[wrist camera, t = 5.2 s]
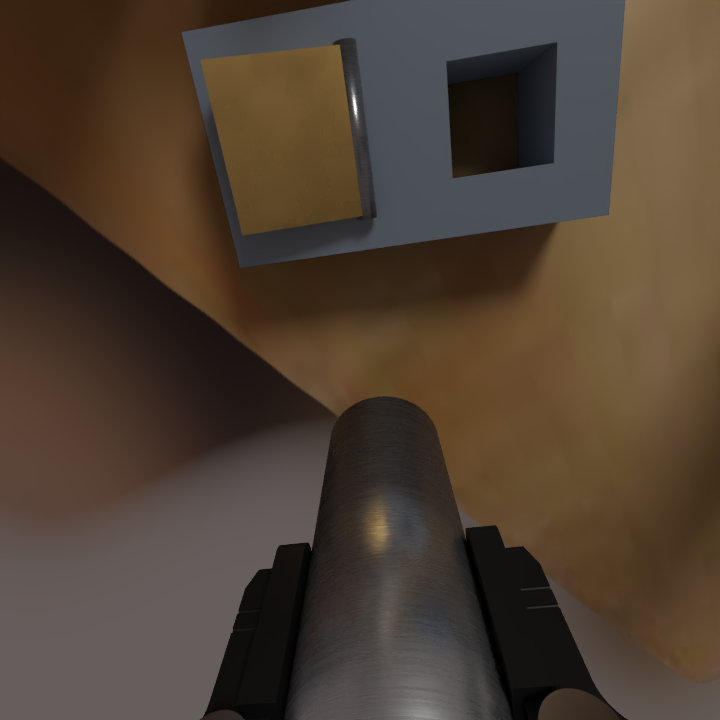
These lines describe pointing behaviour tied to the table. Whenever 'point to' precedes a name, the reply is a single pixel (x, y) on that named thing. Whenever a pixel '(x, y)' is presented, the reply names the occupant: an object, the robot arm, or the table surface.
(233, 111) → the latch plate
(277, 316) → the table surface
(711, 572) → the table surface
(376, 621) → the steel pin
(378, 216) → the pin block
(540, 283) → the table surface
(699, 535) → the table surface
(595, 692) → the robot arm
